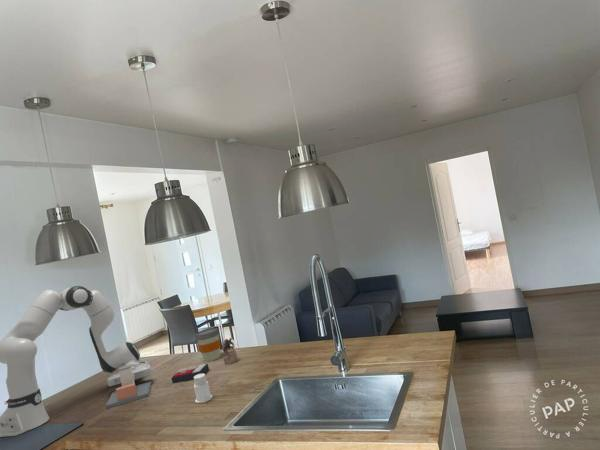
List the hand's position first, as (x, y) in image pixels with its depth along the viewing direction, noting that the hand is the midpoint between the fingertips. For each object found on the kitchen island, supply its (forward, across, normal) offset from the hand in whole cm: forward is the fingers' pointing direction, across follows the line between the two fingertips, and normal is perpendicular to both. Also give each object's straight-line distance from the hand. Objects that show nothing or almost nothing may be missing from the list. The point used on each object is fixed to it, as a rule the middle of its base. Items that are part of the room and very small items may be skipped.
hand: (128, 380), depth 209 cm
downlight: (+38, +33, +7) cm, 51 cm away
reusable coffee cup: (-21, +40, +6) cm, 46 cm away
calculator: (+1, +28, +7) cm, 29 cm away
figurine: (-4, +49, +6) cm, 49 cm away
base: (+4, 0, +6) cm, 7 cm away
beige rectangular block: (+2, 0, +5) cm, 5 cm away
